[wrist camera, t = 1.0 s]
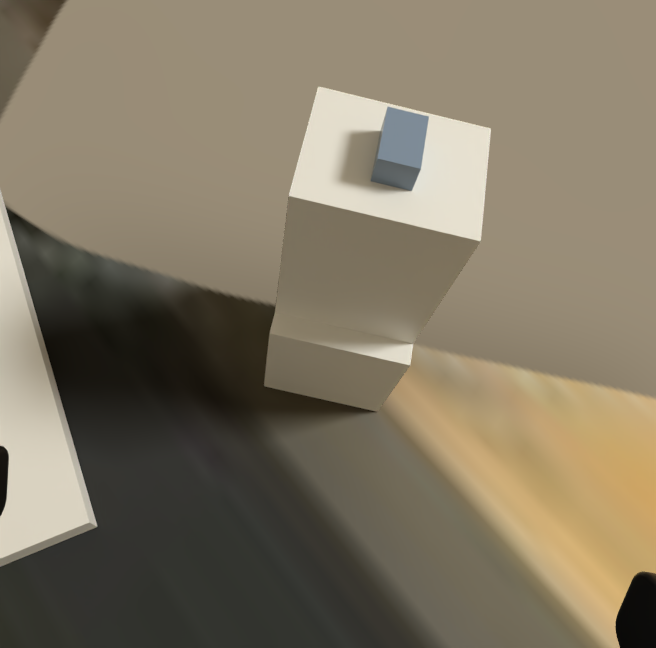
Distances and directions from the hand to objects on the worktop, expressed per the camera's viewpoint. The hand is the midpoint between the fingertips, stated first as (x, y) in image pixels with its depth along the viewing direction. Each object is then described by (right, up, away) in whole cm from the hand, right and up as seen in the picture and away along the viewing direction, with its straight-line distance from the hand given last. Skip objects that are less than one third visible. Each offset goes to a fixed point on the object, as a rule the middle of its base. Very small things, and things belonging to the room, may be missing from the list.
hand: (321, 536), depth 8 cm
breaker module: (0, +2, +16) cm, 16 cm away
